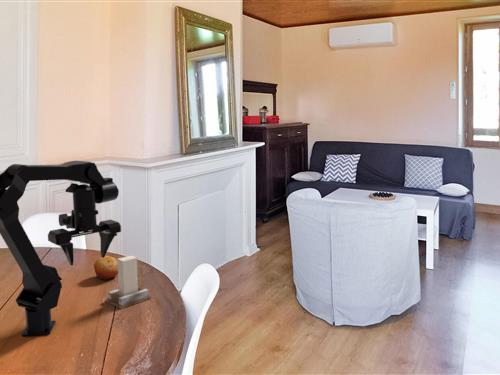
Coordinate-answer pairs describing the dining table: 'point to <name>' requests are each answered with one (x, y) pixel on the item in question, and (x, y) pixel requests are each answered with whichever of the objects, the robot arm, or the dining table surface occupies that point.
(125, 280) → the tall cream box
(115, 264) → the fruit
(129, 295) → the track
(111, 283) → the dining table surface
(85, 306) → the dining table surface
